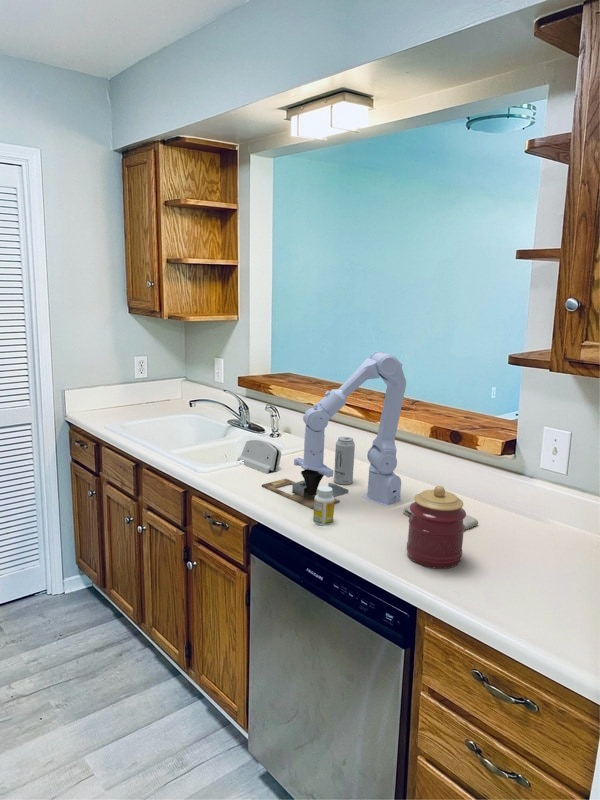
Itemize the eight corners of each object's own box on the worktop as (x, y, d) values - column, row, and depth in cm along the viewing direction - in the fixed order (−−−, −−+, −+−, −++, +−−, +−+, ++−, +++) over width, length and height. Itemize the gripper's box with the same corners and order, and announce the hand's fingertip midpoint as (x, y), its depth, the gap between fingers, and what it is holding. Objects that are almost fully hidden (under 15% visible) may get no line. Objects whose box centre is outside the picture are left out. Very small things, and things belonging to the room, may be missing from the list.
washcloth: (425, 507, 172) (426, 497, 172) (479, 526, 159) (481, 516, 158) (400, 516, 164) (401, 506, 164) (455, 538, 151) (456, 526, 151)
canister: (416, 540, 148) (422, 473, 144) (467, 553, 142) (474, 484, 138) (398, 559, 137) (403, 488, 133) (452, 575, 130) (459, 500, 127)
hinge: (235, 462, 206) (243, 435, 206) (245, 464, 209) (253, 437, 210) (267, 474, 194) (275, 445, 195) (277, 476, 198) (285, 447, 198)
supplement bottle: (313, 526, 154) (314, 491, 152) (313, 518, 159) (314, 484, 157) (333, 526, 154) (335, 492, 152) (332, 518, 159) (334, 485, 157)
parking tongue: (348, 494, 178) (348, 489, 178) (332, 499, 173) (332, 494, 173) (329, 487, 184) (330, 482, 184) (313, 492, 179) (314, 487, 179)
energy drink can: (329, 482, 188) (332, 437, 186) (344, 479, 192) (346, 435, 189) (342, 488, 184) (344, 442, 181) (356, 484, 187) (359, 439, 184)
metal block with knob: (315, 494, 174) (316, 482, 173) (303, 498, 170) (304, 486, 170) (304, 489, 177) (305, 478, 177) (292, 493, 174) (292, 481, 173)
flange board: (339, 504, 170) (339, 499, 170) (314, 512, 163) (315, 507, 163) (285, 482, 187) (286, 477, 187) (261, 488, 181) (261, 483, 180)
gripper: (287, 446, 171) (285, 490, 173) (321, 458, 160) (319, 504, 163) (304, 442, 176) (302, 485, 178) (339, 453, 165) (336, 499, 168)
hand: (311, 494), depth 171 cm, fingers closed
